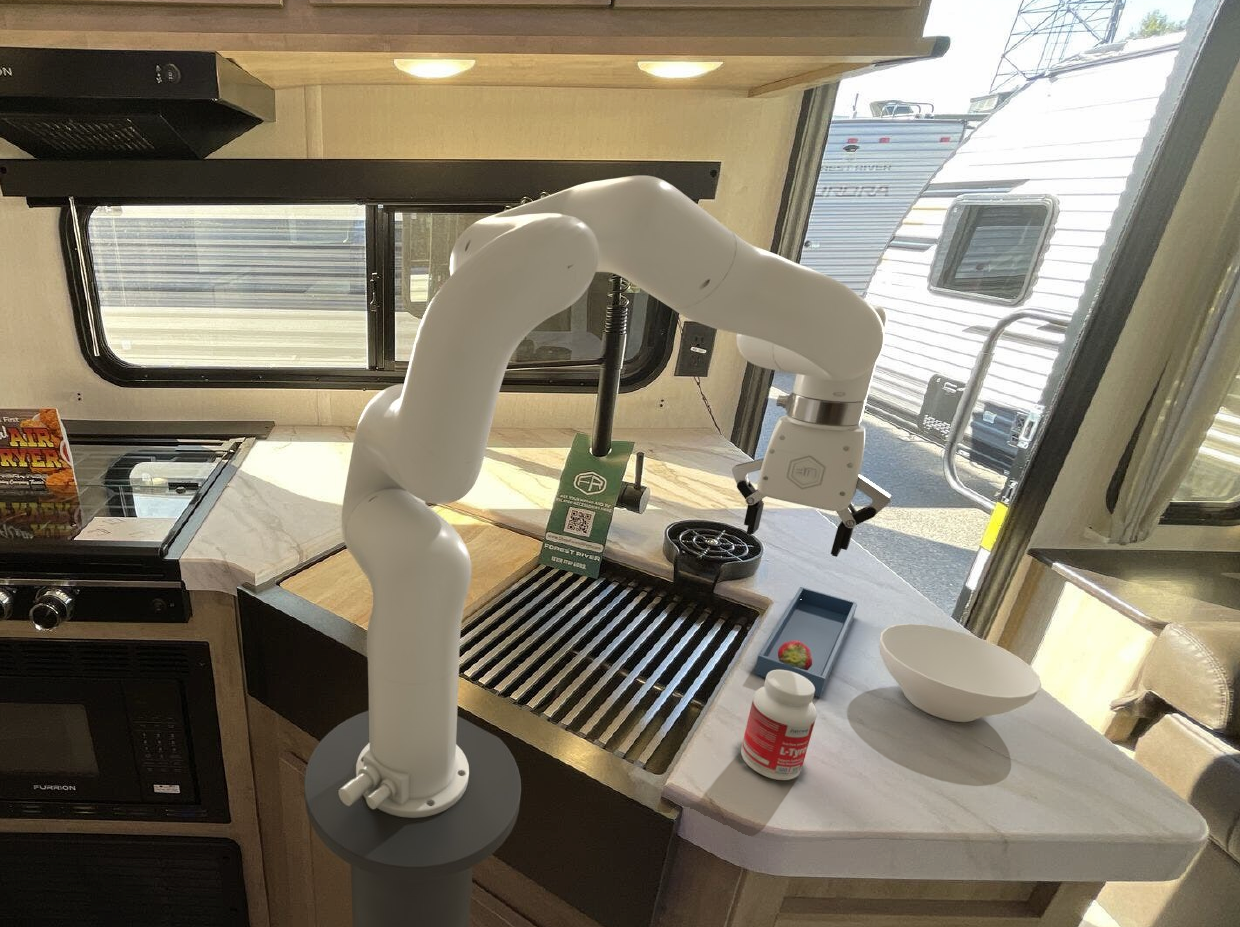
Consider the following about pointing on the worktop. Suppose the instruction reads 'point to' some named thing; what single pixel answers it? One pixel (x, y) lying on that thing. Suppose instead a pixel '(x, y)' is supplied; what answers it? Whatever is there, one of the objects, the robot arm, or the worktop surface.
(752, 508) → the robot arm
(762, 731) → the pill bottle
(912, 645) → the bowl
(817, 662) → the tray
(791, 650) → the fruit
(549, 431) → the worktop surface
